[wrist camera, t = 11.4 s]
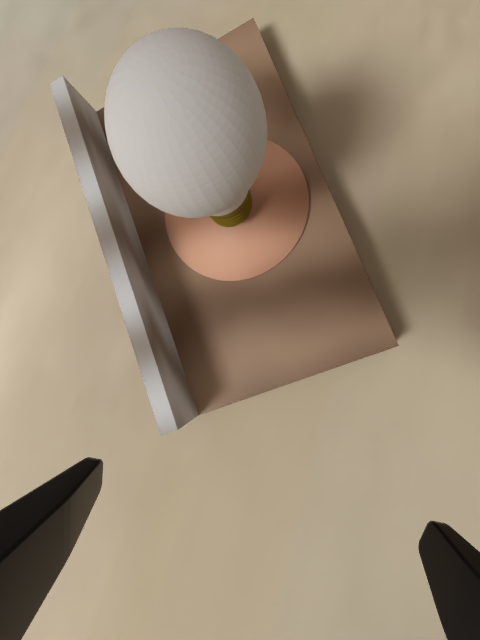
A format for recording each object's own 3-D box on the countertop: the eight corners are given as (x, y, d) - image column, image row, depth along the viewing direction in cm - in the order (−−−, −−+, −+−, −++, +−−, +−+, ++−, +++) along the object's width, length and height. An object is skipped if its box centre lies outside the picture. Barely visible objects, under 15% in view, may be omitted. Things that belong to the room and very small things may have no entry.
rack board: (391, 345, 17) (418, 347, 13) (193, 414, 20) (160, 435, 15) (257, 40, 20) (243, -41, 16) (99, 132, 23) (49, 84, 18)
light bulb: (282, 256, 17) (250, 156, 8) (187, 260, 19) (57, 179, 9) (282, 158, 18) (252, -58, 8) (189, 168, 19) (65, -6, 9)
